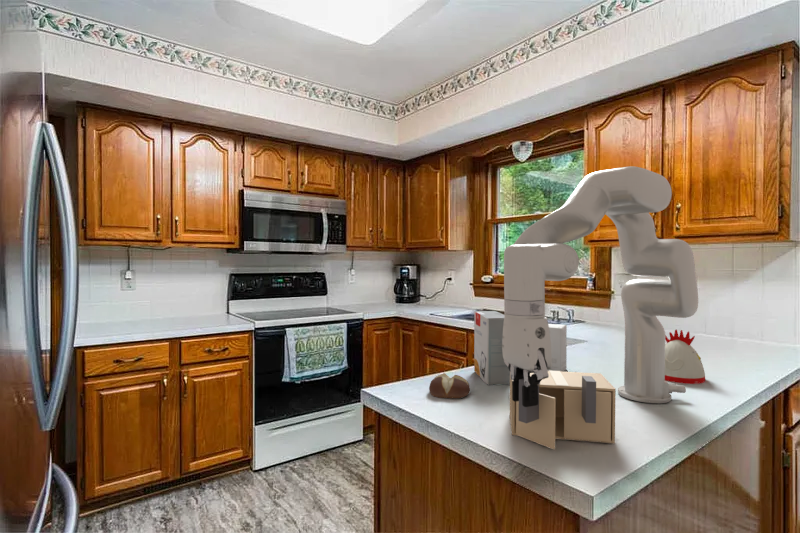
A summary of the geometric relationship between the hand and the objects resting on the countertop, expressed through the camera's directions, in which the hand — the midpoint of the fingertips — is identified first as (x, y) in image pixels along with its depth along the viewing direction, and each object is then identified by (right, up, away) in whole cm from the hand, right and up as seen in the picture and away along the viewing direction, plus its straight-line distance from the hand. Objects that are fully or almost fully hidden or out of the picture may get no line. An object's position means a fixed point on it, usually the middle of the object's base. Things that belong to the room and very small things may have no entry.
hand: (524, 402), depth 85 cm
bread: (-10, -9, +35) cm, 38 cm away
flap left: (+1, -8, +1) cm, 9 cm away
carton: (+10, -9, +11) cm, 17 cm away
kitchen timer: (+63, -9, +52) cm, 82 cm away
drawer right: (+13, -9, +1) cm, 16 cm away
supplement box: (+26, -8, +61) cm, 66 cm away
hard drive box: (+4, -8, +51) cm, 51 cm away
